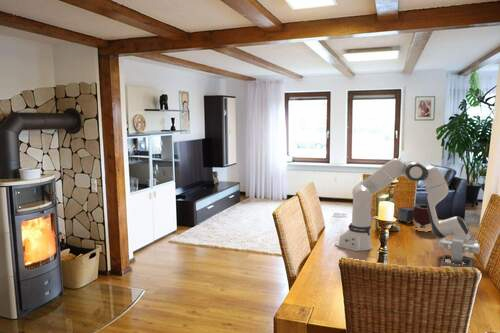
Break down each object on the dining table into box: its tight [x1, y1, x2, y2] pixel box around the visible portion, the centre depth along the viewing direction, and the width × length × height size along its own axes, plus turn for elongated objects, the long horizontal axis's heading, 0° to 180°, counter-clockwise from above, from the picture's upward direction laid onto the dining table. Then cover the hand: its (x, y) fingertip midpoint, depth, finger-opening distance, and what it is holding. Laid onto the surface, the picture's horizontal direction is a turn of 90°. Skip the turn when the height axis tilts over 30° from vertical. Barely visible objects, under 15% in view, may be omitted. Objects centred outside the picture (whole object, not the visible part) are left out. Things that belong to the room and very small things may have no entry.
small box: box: [397, 206, 414, 223], centre depth 306 cm, size 11×6×10 cm, turn 22°
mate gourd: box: [412, 203, 431, 228], centre depth 282 cm, size 16×14×20 cm
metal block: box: [451, 239, 464, 265], centre depth 211 cm, size 5×5×12 cm
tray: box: [440, 254, 474, 268], centre depth 212 cm, size 14×14×4 cm
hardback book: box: [374, 192, 394, 230], centre depth 290 cm, size 18×7×24 cm, turn 146°
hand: (457, 250), depth 210 cm, fingers closed on metal block, 5 cm apart
